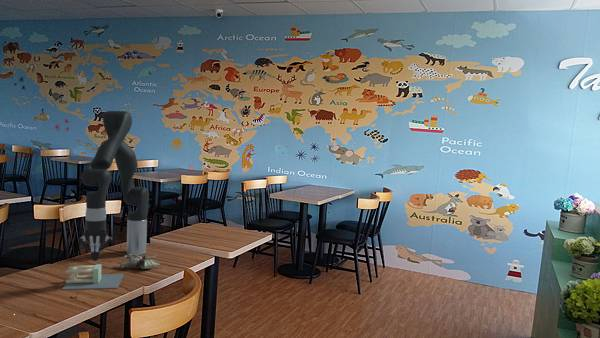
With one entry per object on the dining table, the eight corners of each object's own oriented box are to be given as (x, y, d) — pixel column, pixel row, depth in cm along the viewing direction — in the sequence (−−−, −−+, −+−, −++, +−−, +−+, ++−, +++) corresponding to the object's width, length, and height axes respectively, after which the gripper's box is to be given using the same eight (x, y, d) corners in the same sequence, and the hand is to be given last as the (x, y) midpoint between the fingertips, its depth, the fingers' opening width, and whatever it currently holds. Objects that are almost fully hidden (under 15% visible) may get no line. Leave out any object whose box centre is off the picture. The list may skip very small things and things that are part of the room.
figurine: (140, 248, 214) (171, 253, 209) (139, 261, 214) (170, 266, 210) (112, 257, 195) (145, 262, 190) (111, 270, 195) (144, 276, 190)
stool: (101, 278, 185) (69, 279, 182) (101, 264, 184) (69, 265, 181) (98, 283, 179) (65, 284, 176) (98, 268, 178) (65, 269, 176)
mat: (73, 275, 187) (73, 274, 187) (123, 274, 191) (123, 273, 191) (61, 289, 171) (61, 288, 171) (117, 288, 176) (117, 287, 176)
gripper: (115, 216, 184) (114, 257, 186) (80, 216, 181) (79, 257, 183) (111, 220, 177) (111, 263, 178) (75, 220, 174) (75, 263, 175)
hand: (95, 260), depth 181 cm, fingers closed
